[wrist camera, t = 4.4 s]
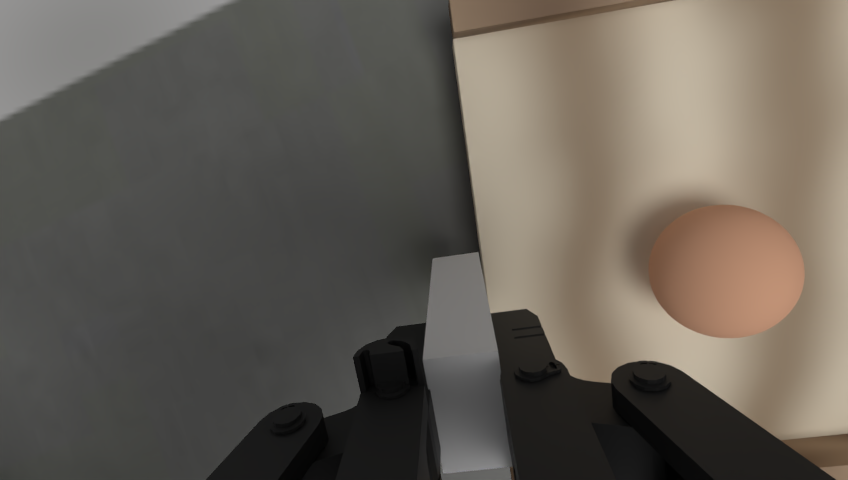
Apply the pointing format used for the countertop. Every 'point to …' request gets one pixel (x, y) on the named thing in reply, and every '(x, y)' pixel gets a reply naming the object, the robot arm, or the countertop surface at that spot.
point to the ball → (726, 271)
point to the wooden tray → (664, 182)
